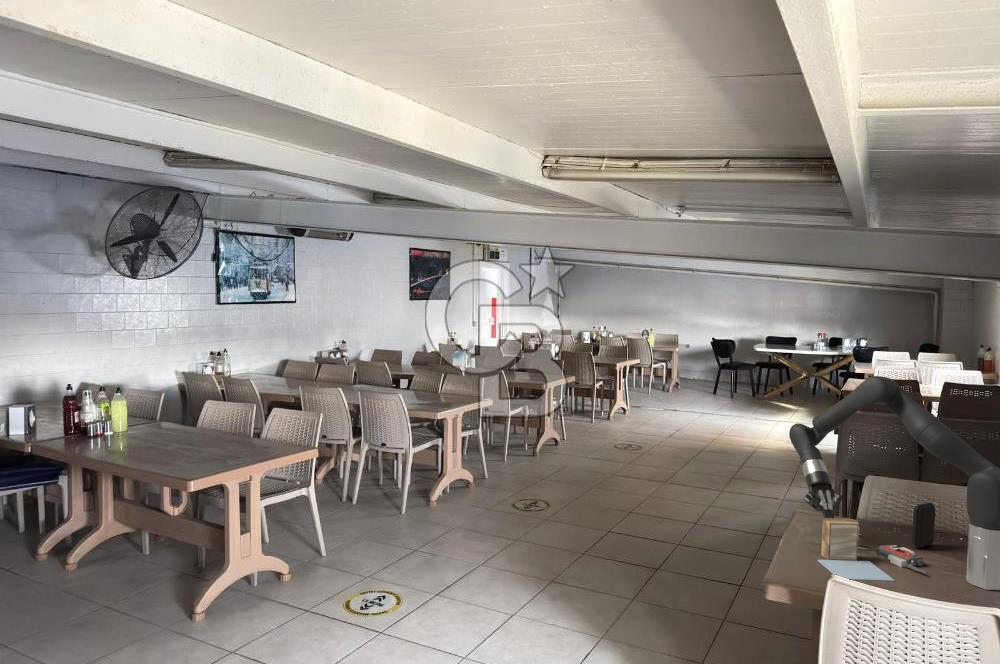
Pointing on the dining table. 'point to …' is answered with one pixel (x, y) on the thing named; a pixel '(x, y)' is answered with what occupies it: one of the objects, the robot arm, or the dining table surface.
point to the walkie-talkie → (901, 557)
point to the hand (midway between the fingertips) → (830, 522)
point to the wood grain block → (839, 539)
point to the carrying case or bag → (923, 525)
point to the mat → (856, 570)
